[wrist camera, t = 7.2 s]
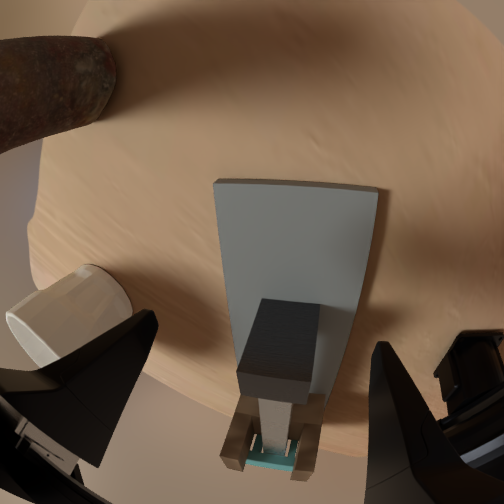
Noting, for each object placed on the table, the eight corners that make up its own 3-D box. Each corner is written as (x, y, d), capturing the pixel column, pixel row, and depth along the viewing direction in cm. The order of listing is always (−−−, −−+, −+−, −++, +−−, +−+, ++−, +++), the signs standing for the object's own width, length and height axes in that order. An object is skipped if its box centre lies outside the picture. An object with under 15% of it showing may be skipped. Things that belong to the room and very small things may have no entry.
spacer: (313, 433, 27) (307, 468, 23) (310, 440, 29) (304, 472, 25) (245, 423, 29) (235, 456, 25) (247, 431, 31) (237, 461, 27)
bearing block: (326, 386, 27) (313, 471, 19) (318, 409, 30) (306, 481, 22) (246, 376, 29) (219, 455, 21) (249, 399, 32) (227, 468, 24)
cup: (130, 345, 33) (89, 409, 24) (62, 285, 30) (12, 339, 21) (164, 305, 26) (105, 394, 17) (74, 225, 24) (-3, 290, 15)
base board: (375, 187, 15) (378, 192, 14) (317, 423, 33) (316, 429, 32) (218, 178, 18) (213, 183, 17) (248, 413, 35) (246, 419, 34)
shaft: (320, 304, 20) (311, 382, 14) (299, 424, 32) (289, 468, 26) (261, 298, 21) (236, 371, 15) (267, 420, 33) (255, 462, 27)
